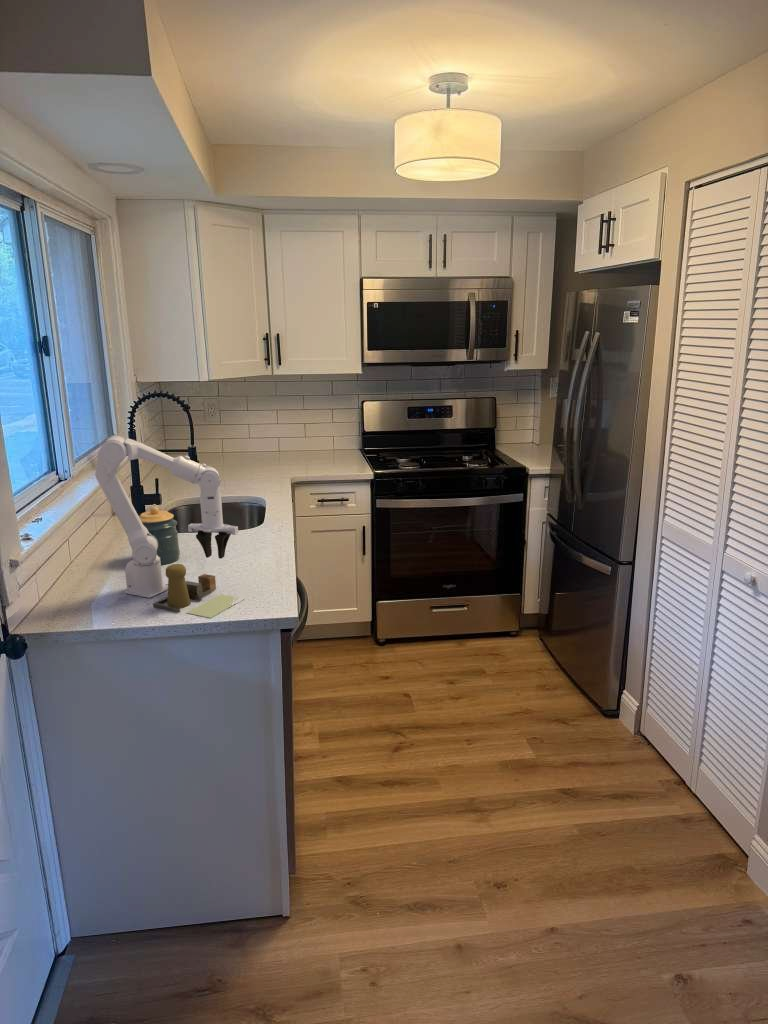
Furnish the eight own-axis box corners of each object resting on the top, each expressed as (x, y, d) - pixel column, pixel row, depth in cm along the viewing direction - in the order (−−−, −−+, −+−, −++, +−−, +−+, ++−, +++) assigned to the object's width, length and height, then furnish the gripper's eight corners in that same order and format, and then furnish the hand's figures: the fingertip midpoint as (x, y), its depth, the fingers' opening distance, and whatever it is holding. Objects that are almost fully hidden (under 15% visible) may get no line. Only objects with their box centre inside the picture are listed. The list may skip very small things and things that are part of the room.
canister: (167, 567, 210) (162, 512, 206) (129, 565, 213) (123, 510, 208) (187, 554, 222) (182, 502, 218) (151, 552, 225) (146, 500, 220)
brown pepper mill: (193, 599, 184) (189, 561, 181) (187, 608, 178) (183, 568, 175) (170, 600, 183) (166, 561, 181) (164, 609, 178) (160, 569, 175)
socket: (153, 607, 178) (151, 593, 177) (191, 589, 192) (190, 575, 191) (178, 612, 175) (176, 598, 174) (215, 593, 188) (214, 579, 187)
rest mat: (186, 613, 175) (186, 612, 175) (220, 594, 187) (220, 594, 187) (211, 618, 171) (211, 617, 171) (244, 599, 184) (244, 598, 183)
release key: (185, 596, 186) (184, 583, 185) (204, 586, 193) (203, 574, 192) (197, 598, 184) (195, 585, 183) (216, 588, 191) (215, 575, 190)
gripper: (180, 512, 187) (184, 559, 191) (228, 515, 184) (231, 563, 187) (193, 506, 194) (197, 552, 197) (240, 509, 190) (243, 555, 194)
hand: (215, 557), depth 192 cm, fingers open, 3 cm apart
